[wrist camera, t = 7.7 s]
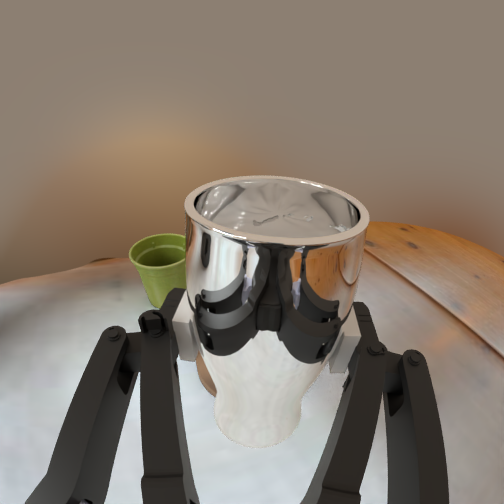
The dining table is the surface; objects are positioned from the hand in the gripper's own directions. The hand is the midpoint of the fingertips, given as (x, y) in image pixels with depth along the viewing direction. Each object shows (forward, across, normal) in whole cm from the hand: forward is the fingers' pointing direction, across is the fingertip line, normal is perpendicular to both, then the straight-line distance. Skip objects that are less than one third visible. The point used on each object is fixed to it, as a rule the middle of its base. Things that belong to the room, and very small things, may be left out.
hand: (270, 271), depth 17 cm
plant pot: (+17, -15, -18) cm, 29 cm away
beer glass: (-5, 0, -9) cm, 10 cm away
